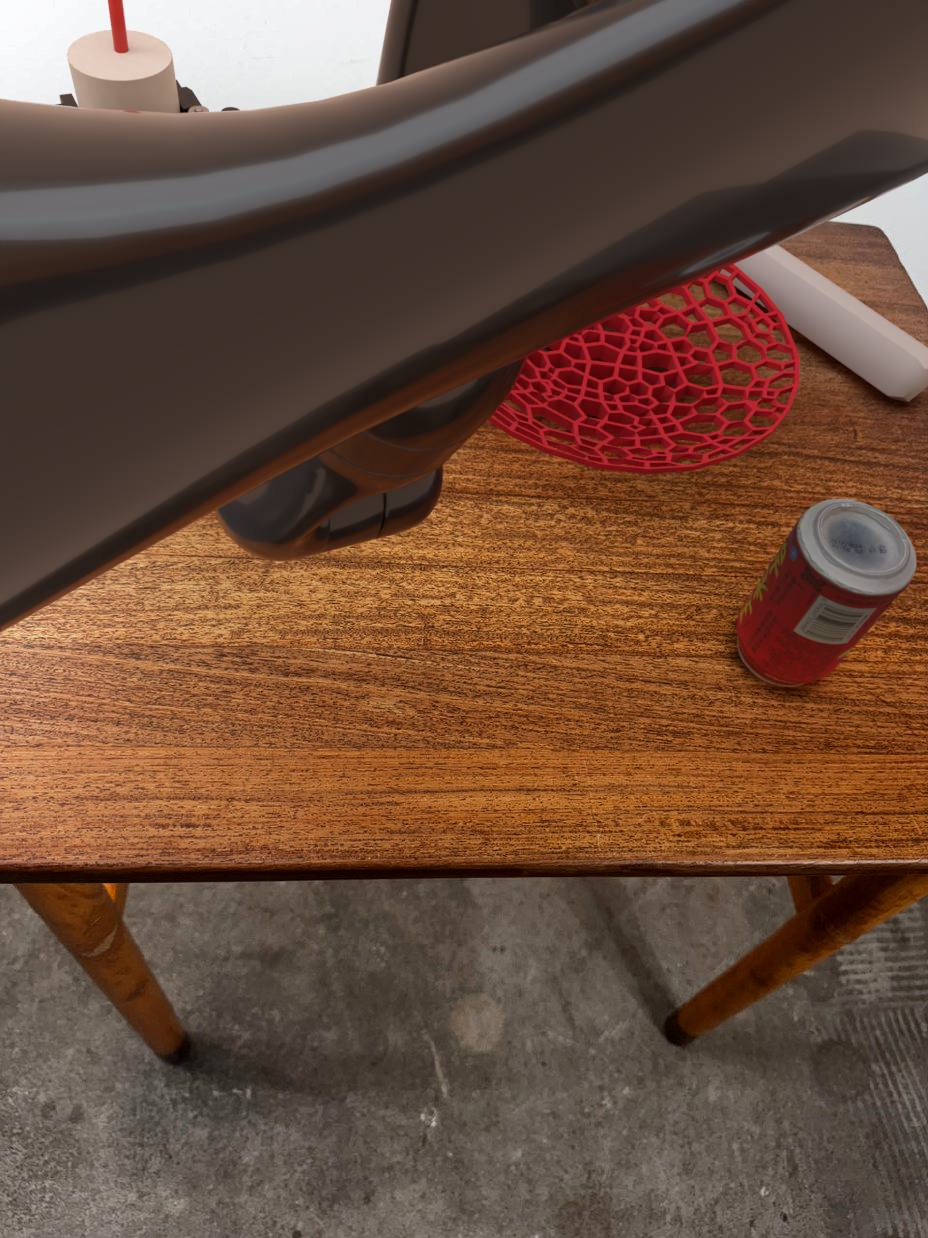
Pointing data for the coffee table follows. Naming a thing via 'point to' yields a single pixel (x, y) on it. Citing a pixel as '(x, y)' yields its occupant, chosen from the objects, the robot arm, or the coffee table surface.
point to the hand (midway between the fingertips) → (121, 102)
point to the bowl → (652, 385)
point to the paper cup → (123, 69)
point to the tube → (839, 323)
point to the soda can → (823, 591)
